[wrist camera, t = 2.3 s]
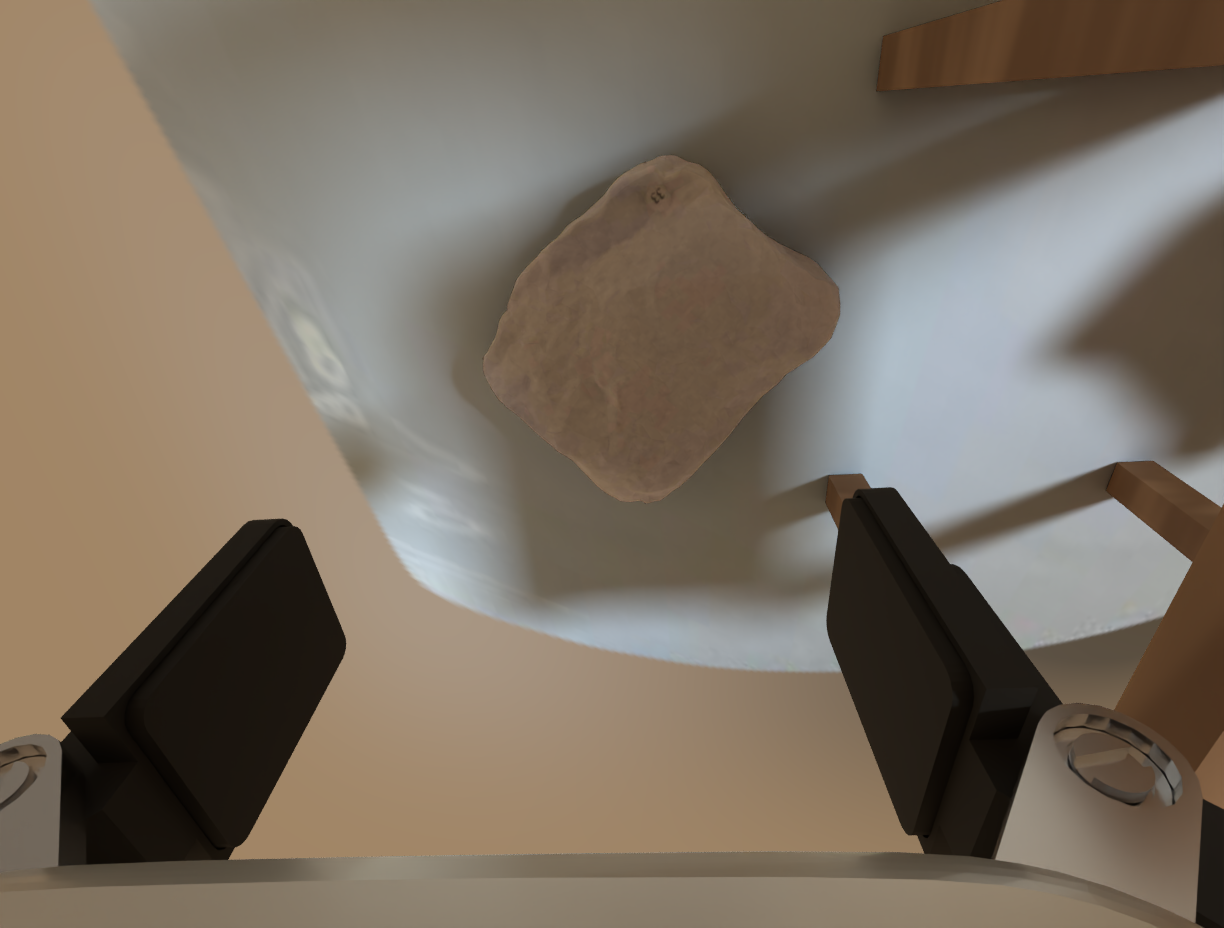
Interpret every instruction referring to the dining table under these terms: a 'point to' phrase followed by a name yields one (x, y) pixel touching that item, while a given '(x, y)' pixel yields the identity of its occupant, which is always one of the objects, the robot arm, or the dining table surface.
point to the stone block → (655, 329)
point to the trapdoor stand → (1200, 529)
